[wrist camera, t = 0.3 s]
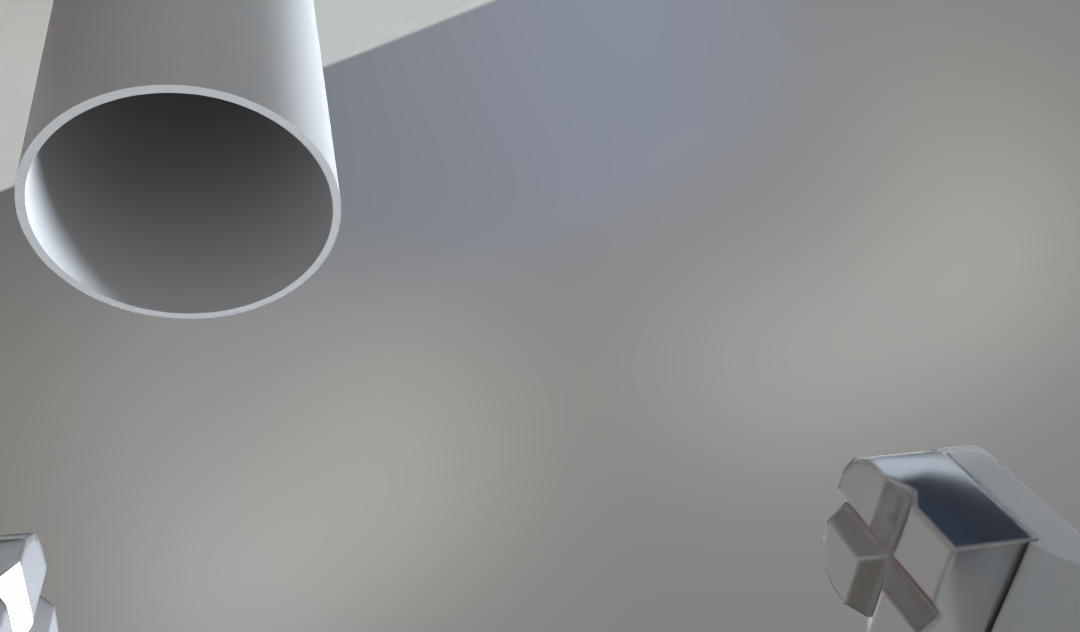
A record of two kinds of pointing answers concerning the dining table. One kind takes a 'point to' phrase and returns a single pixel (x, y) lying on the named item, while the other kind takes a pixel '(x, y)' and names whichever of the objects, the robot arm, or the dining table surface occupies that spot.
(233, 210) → the cylinder vase
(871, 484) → the robot arm
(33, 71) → the dining table surface
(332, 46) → the dining table surface
